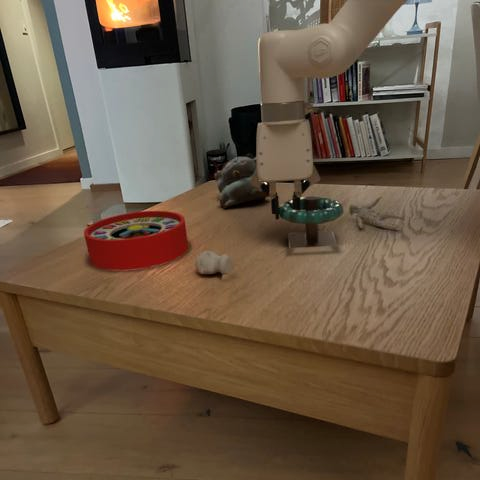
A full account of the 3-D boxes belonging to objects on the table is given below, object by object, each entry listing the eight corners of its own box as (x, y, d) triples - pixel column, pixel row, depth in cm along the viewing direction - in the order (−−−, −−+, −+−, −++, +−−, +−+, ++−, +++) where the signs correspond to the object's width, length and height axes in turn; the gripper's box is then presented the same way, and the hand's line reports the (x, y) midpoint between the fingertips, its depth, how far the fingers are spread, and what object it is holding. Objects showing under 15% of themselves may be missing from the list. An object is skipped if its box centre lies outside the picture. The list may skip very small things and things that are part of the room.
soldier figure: (387, 240, 95) (337, 215, 100) (389, 248, 100) (341, 224, 105) (409, 207, 95) (358, 184, 100) (410, 218, 100) (361, 195, 105)
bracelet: (338, 206, 96) (338, 194, 94) (346, 224, 85) (347, 211, 84) (278, 209, 97) (278, 197, 95) (279, 227, 86) (279, 214, 85)
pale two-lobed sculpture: (193, 278, 86) (213, 262, 88) (220, 289, 80) (241, 271, 82) (184, 258, 83) (205, 242, 85) (211, 268, 78) (233, 251, 80)
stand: (332, 236, 97) (333, 191, 93) (337, 251, 89) (338, 202, 85) (288, 238, 98) (287, 193, 94) (289, 253, 90) (288, 205, 86)
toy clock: (129, 208, 107) (203, 213, 98) (134, 233, 110) (206, 241, 101) (61, 235, 92) (141, 245, 83) (69, 263, 95) (147, 276, 85)
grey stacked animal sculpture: (211, 210, 122) (200, 157, 122) (230, 216, 133) (220, 168, 133) (265, 192, 116) (253, 137, 116) (280, 200, 127) (269, 150, 127)
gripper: (328, 108, 85) (327, 209, 94) (238, 115, 87) (245, 214, 95) (332, 111, 79) (330, 220, 87) (235, 119, 80) (242, 225, 89)
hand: (286, 216), depth 91 cm, fingers closed on bracelet, 2 cm apart
